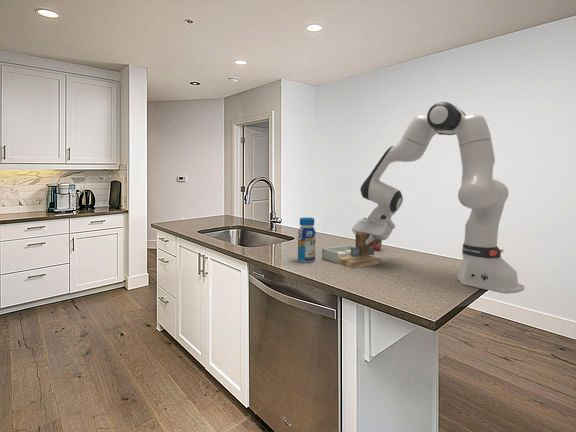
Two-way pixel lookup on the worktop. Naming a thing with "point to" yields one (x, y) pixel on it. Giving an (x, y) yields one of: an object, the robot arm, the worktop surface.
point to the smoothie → (376, 244)
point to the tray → (334, 252)
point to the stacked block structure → (361, 246)
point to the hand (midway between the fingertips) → (361, 243)
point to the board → (358, 261)
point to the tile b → (342, 254)
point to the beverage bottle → (306, 240)
